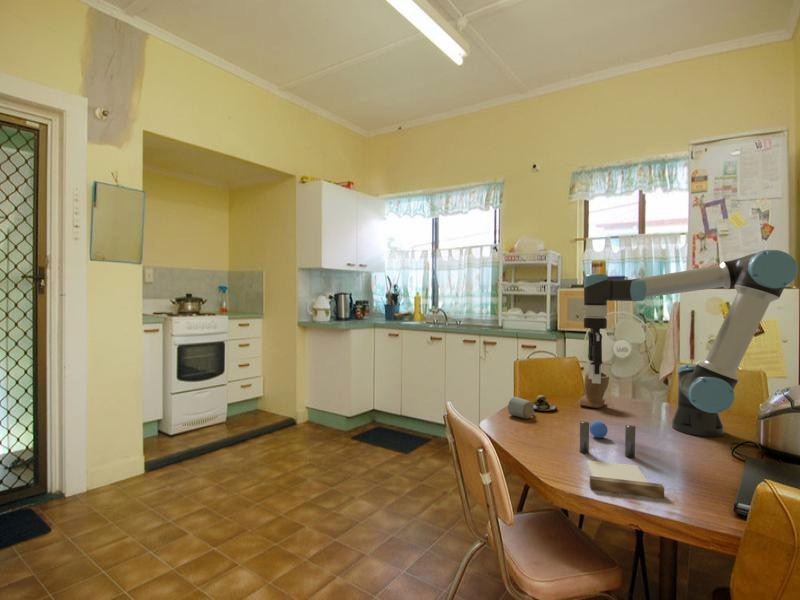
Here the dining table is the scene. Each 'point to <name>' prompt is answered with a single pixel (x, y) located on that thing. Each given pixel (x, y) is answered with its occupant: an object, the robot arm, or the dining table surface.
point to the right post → (630, 441)
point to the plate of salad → (543, 404)
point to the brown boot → (594, 391)
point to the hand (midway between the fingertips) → (594, 380)
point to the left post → (584, 437)
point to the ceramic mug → (520, 408)
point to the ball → (598, 429)
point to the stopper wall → (627, 486)
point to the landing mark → (616, 471)
